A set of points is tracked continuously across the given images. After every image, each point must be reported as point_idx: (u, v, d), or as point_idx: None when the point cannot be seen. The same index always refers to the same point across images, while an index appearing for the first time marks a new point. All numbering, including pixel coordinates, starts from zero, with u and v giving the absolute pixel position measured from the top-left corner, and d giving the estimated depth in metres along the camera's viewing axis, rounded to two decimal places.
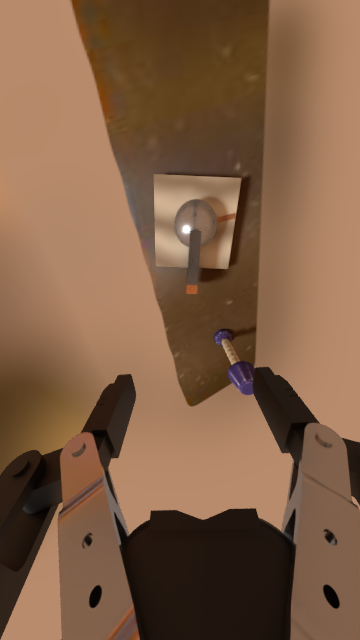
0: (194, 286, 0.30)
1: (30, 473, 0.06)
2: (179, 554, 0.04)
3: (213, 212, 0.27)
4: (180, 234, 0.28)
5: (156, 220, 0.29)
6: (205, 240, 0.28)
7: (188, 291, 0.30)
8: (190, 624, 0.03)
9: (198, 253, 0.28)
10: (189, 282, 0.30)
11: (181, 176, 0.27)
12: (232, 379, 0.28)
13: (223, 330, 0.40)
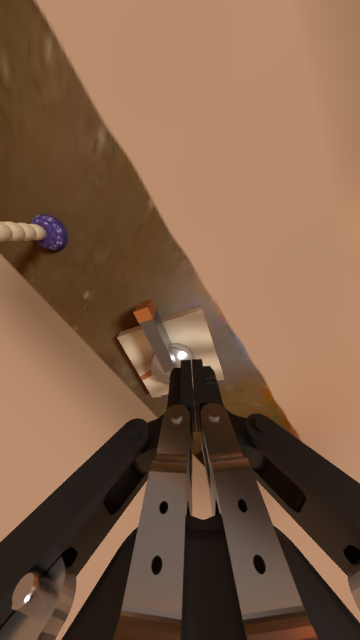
0: (141, 319, 0.21)
1: (144, 436, 0.07)
2: (179, 554, 0.04)
3: (162, 381, 0.27)
4: (185, 357, 0.25)
5: (213, 351, 0.27)
6: (156, 360, 0.25)
7: (146, 310, 0.20)
8: (190, 623, 0.03)
9: (157, 355, 0.23)
10: (151, 322, 0.21)
11: None
12: None
13: (59, 248, 0.22)
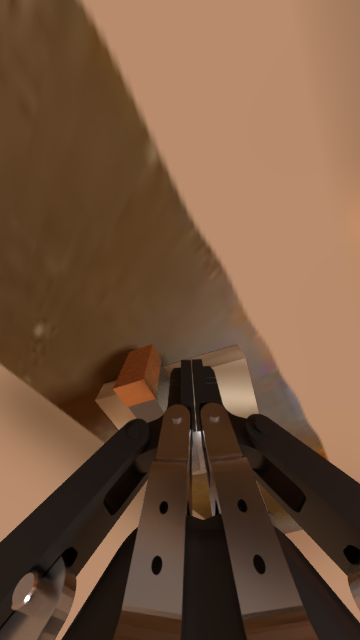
0: (132, 401, 0.10)
1: (144, 436, 0.07)
2: (179, 554, 0.04)
3: None
4: None
5: None
6: None
7: (140, 386, 0.09)
8: (190, 624, 0.03)
9: None
10: (152, 404, 0.10)
11: None
12: None
13: None
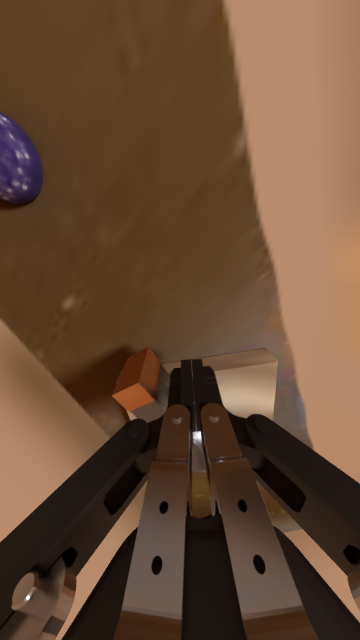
0: (132, 405, 0.10)
1: (144, 436, 0.07)
2: (179, 554, 0.04)
3: None
4: None
5: None
6: None
7: (137, 389, 0.09)
8: (190, 624, 0.03)
9: None
10: (152, 406, 0.10)
11: None
12: None
13: (21, 199, 0.10)
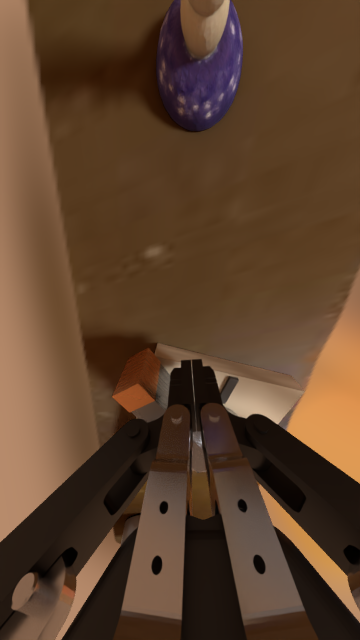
0: (133, 406, 0.10)
1: (144, 436, 0.07)
2: (179, 554, 0.04)
3: (194, 469, 0.16)
4: None
5: None
6: None
7: (137, 390, 0.09)
8: (190, 625, 0.03)
9: None
10: (153, 406, 0.10)
11: None
12: None
13: (191, 123, 0.09)
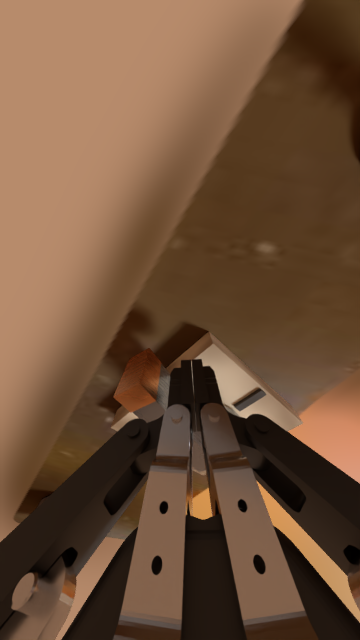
0: (134, 406, 0.10)
1: (144, 436, 0.07)
2: (179, 554, 0.04)
3: (195, 468, 0.16)
4: None
5: None
6: None
7: (138, 390, 0.09)
8: (190, 624, 0.03)
9: None
10: (154, 406, 0.10)
11: None
12: None
13: None
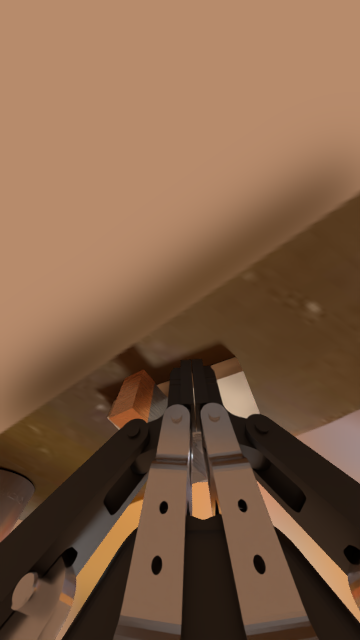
0: None
1: (144, 436, 0.07)
2: (179, 554, 0.04)
3: None
4: None
5: None
6: None
7: (131, 413, 0.10)
8: (190, 624, 0.03)
9: None
10: None
11: None
12: None
13: None
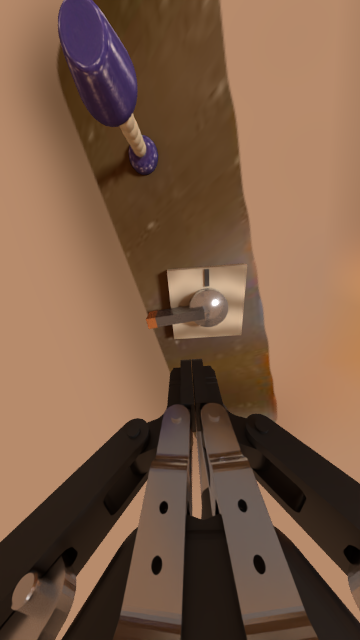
0: (155, 325, 0.29)
1: (144, 436, 0.07)
2: (179, 554, 0.04)
3: (220, 321, 0.31)
4: (199, 298, 0.29)
5: (242, 306, 0.32)
6: (197, 321, 0.31)
7: (148, 320, 0.29)
8: (190, 624, 0.03)
9: (186, 321, 0.29)
10: (157, 319, 0.29)
11: (219, 335, 0.35)
12: (125, 57, 0.11)
13: (147, 172, 0.25)
